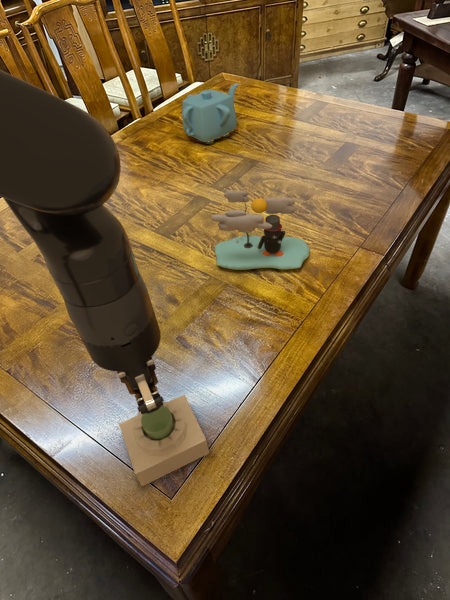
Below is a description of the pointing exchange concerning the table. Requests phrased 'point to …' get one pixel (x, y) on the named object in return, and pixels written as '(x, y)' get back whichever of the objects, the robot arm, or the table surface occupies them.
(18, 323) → the table surface
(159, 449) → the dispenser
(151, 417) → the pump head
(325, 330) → the table surface
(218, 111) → the teapot
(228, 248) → the penguin figurine
